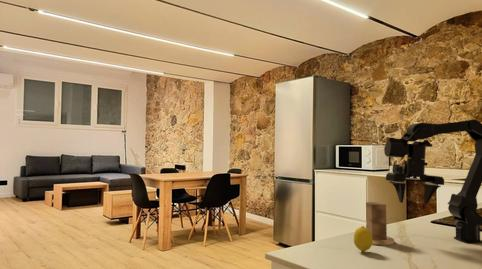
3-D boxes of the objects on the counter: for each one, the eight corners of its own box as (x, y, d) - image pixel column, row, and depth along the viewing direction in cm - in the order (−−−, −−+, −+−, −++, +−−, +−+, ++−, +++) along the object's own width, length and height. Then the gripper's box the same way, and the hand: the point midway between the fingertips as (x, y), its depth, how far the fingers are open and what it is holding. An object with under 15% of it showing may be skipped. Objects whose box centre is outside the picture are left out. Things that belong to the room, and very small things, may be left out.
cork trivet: (384, 236, 127) (384, 234, 127) (400, 245, 116) (400, 242, 116) (354, 237, 126) (354, 234, 126) (368, 245, 115) (368, 242, 115)
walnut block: (380, 236, 124) (380, 202, 124) (386, 240, 119) (386, 204, 119) (366, 236, 123) (366, 202, 124) (372, 240, 118) (371, 204, 119)
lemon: (374, 255, 105) (373, 228, 105) (354, 254, 106) (354, 227, 106) (371, 250, 110) (370, 224, 111) (352, 249, 112) (352, 223, 112)
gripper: (425, 159, 132) (423, 201, 132) (379, 156, 130) (376, 198, 129) (446, 161, 121) (444, 206, 121) (396, 157, 119) (393, 203, 118)
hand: (413, 203), depth 122 cm, fingers open, 9 cm apart
